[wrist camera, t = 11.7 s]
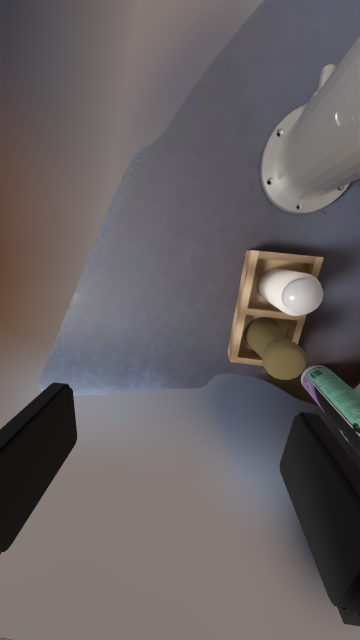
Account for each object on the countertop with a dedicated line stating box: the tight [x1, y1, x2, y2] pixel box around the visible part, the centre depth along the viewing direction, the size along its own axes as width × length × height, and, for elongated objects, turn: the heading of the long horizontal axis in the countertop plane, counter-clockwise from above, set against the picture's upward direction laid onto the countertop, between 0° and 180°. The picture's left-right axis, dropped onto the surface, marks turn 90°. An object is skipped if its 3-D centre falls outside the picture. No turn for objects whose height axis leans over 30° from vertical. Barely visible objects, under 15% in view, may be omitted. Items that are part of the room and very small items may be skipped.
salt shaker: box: [257, 268, 323, 316], centre depth 28 cm, size 5×5×10 cm
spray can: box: [301, 365, 360, 456], centre depth 29 cm, size 6×6×20 cm
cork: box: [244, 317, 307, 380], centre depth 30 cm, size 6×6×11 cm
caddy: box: [227, 250, 324, 366], centre depth 34 cm, size 18×10×4 cm, turn 175°
